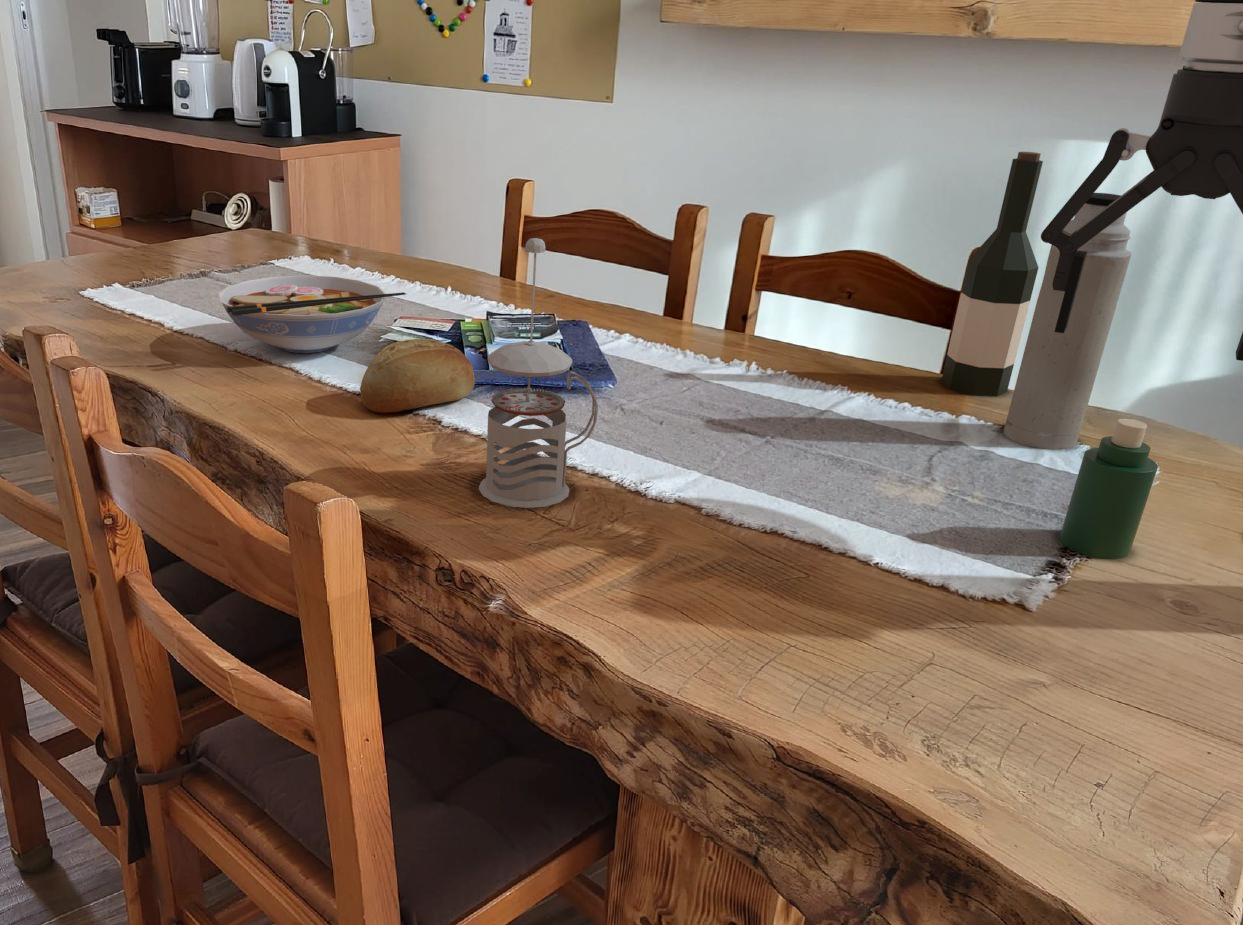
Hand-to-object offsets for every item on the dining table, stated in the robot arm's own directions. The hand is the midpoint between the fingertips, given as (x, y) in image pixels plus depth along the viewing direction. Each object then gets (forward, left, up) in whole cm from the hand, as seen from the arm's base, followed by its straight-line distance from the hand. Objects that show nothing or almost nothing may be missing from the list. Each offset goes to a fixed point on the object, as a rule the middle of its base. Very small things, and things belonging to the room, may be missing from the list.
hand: (1147, 343), depth 91 cm
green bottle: (-1, -2, -20) cm, 20 cm away
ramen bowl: (+100, -9, -20) cm, 103 cm away
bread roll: (+73, +2, -20) cm, 76 cm away
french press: (+49, +17, -20) cm, 56 cm away
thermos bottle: (+7, -31, -20) cm, 38 cm away
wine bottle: (+17, -47, -20) cm, 54 cm away
